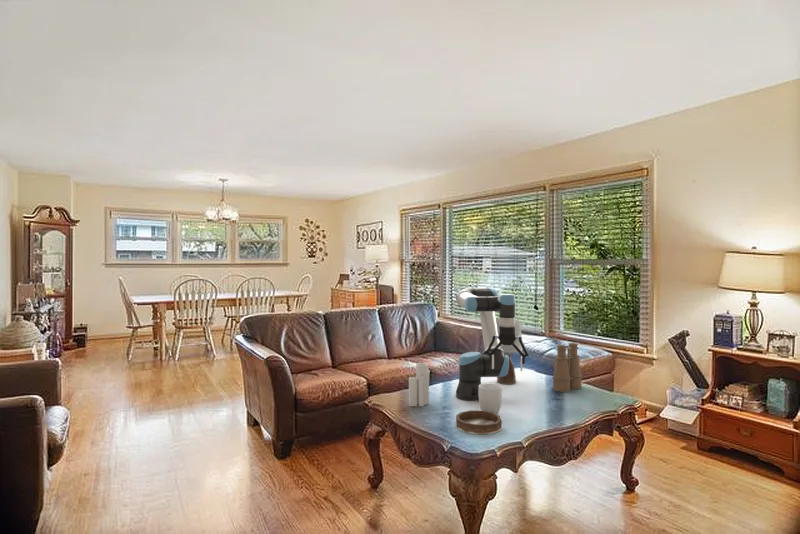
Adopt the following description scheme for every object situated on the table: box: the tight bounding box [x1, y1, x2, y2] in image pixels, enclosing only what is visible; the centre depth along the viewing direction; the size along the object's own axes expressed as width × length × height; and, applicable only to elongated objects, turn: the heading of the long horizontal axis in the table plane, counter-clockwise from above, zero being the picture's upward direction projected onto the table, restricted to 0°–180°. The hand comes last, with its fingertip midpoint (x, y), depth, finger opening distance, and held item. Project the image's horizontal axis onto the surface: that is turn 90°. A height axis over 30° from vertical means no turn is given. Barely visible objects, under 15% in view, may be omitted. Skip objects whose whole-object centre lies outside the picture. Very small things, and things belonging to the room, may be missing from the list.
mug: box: [478, 382, 503, 415], centre depth 228 cm, size 15×11×13 cm
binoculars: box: [551, 342, 583, 393], centre depth 269 cm, size 21×10×25 cm, turn 125°
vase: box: [408, 362, 430, 407], centre depth 240 cm, size 11×7×20 cm, turn 135°
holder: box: [455, 410, 503, 435], centre depth 209 cm, size 20×20×4 cm
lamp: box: [496, 318, 523, 385], centre depth 282 cm, size 19×19×37 cm
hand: (507, 369), depth 229 cm, fingers open, 13 cm apart
